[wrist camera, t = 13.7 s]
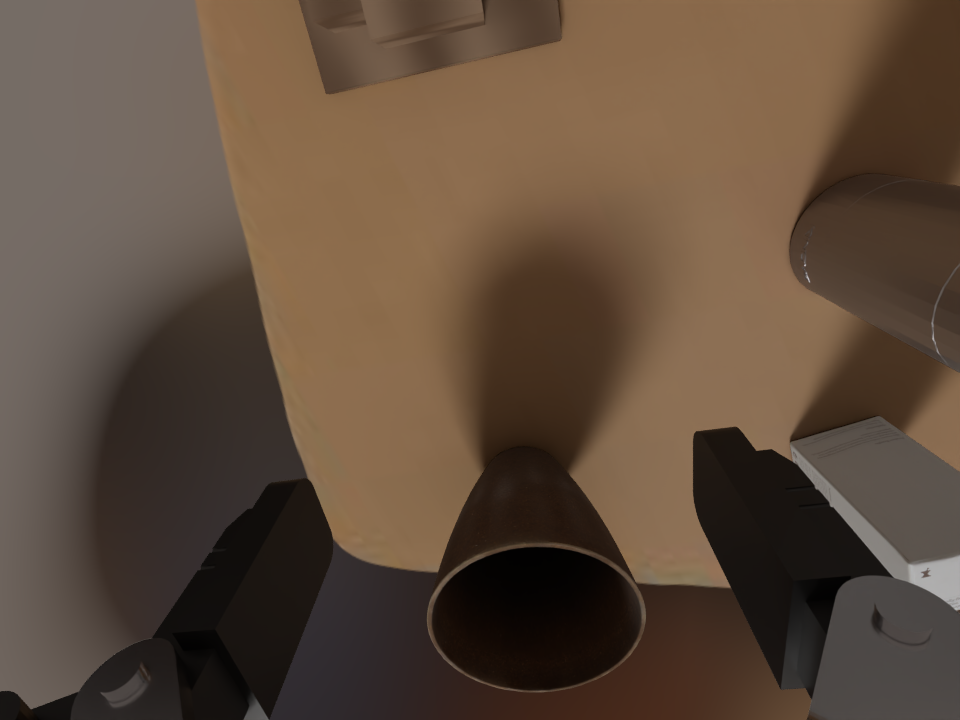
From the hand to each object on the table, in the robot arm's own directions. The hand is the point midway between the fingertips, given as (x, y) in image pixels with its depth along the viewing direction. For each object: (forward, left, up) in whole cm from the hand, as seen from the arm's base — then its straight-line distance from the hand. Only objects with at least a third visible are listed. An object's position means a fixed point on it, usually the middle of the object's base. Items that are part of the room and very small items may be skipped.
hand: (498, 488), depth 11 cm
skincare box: (-27, +26, -31) cm, 49 cm away
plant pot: (+2, +24, -31) cm, 40 cm away
